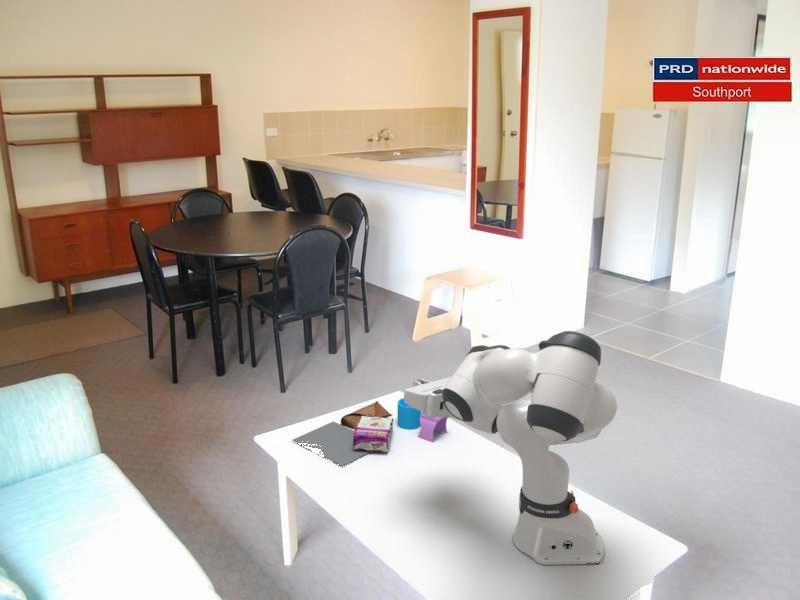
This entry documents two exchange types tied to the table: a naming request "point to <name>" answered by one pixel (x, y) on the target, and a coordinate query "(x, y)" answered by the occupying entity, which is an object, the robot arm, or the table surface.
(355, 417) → the sunglasses case
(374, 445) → the candy bar box
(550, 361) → the robot arm
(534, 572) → the table surface
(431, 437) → the toy chair
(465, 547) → the table surface
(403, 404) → the mug
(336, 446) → the mat
